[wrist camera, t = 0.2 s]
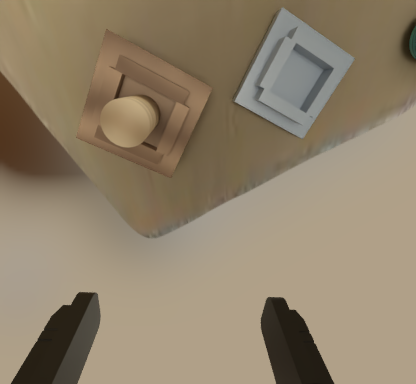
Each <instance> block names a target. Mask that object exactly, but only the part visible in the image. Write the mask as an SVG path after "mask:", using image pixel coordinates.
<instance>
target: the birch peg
mask: <svg viewBox="0 0 416 384" xmlns="http://www.w3.org/2000/svg"><path fill="white" fill-rule="evenodd" d="M160 115H161V114H160V109H159V106H158V104H157V103H156V102H155V101H154V100H153V99H152V98H151V97H149V96H147V95H134V96H129V97H123V98H118V99H114V100H112V101H110V102H108V103H107V104H106V105H105V106H104V108H103V110H102V112H101V116H100V123H101V128H102V130H103V132H104V134H105V135H106V137H107V138H108V139H109V140H110V141H111V142H113V143H114V144H116V145H118V146H121V147H127V148H129V147H135V146H137V145H139V144H141V143H142V142H143V141H144V140H145V139H146V138H147V137H148V135H149V134H150V133H151V132H152V131H153V129H154V128H155V127H156V126H157V125H158V123H159V121H160Z"/></svg>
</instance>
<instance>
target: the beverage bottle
mask: <svg viewBox="0 0 416 384" xmlns="http://www.w3.org/2000/svg"><path fill="white" fill-rule="evenodd" d="M409 47H410V52H411V54H412V56H413V57H414V58H415V59H416V26H415V27H414V29H413V31H412V34H411V37H410V42H409Z"/></svg>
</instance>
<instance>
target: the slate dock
mask: <svg viewBox="0 0 416 384" xmlns="http://www.w3.org/2000/svg"><path fill="white" fill-rule="evenodd" d="M354 59H355V58H354V57H352V56H351V55H349V54H348V53H347V52H345V51H344V50H342V49H341V48H339V47H338V46H337V45H335V44H334V43H332V42H331V41H330V40H328V39H327V38H325V37H324V36H323V35H321V34H320V33H318V32H317V31H315V30H314V29H313V28H311V27H310V26H308V25H307V24H306V23H304V22H303V21H301V20H300V19H298V18H297V17H296V16H294V15H293V14H291V13H290V12H289V11H287V10H286V9H284V8H283V7H282V8H281V9H280V10H279V11H277V13H276V15H275V17H274V19H273V21H272V23H271V25H270V27H269V29H268V31H267V33H266V35H265V37H264V39H263V41H262V43H261V45H260V46H259V48H258V50H257V52H256V54H255V56H254V58H253V60H252V62H251V64H250V66H249V68H248V70H247V72H246V74H245V76H244V78H243V80H242V82H241V84H240V86H239V88H238V90H237V92H236V94H235V96H234V98H233V100H232V101H234V102H236V103H237V104H239V105H241V106H243V107H245V108H246V109H248V110H250V111H252V112H254V113H256V114H257V115H259V116H261V117H263V118H265V119H266V120H268V121H270V122H272V123H274V124H275V125H277V126H279V127H281V128H283V129H285V130H286V131H288V132H290V133H292V134H294V135H295V136H297V137H299V138H301V139H303V138H304V136H305V135H306V133H307V131H308V130H309V128H310V127H311V125H312V124H313V122H314V121H315V119H316V118H317V116H318V115H319V113H320V112H321V110H322V108H323V107H324V105H325V104H326V102H327V101H328V99H329V98H330V96H331V95H332V93H333V92H334V90H335V89H336V87H337V85H338V84H339V82H340V81H341V79H342V78H343V76H344V75H345V73H346V72H347V70H348V69H349V67H350V65H351V64H352V62H353V61H354Z"/></svg>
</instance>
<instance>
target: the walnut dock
mask: <svg viewBox="0 0 416 384" xmlns="http://www.w3.org/2000/svg"><path fill="white" fill-rule="evenodd" d="M212 89H213V88H212V87H210V86H209V85H207V84H205V83H203V82H201V81H200V80H198V79H196V78H194V77H192V76H190V75H189V74H187V73H185V72H183V71H181V70H180V69H178V68H176V67H174V66H172V65H171V64H169V63H167V62H165V61H163V60H162V59H160V58H158V57H156V56H154V55H153V54H151V53H149V52H147V51H145V50H144V49H142V48H140V47H138V46H136V45H135V44H133V43H131V42H129V41H127V40H126V39H124V38H122V37H120V36H118V35H117V34H115V33H113V32H111V31H109V30H108V29H106V32H105V35H104V39H103V43H102V46H101V50H100V53H99V57H98V61H97V64H96V68H95V71H94V75H93V79H92V82H91V86H90V89H89V93H88V97H87V100H86V104H85V107H84V111H83V114H82V118H81V122H80V125H79V129H78V132H77V136H76V138H78V139H80V140H83V141H85V142H87V143H90V144H92V145H94V146H97V147H99V148H101V149H104V150H106V151H108V152H111V153H113V154H115V155H118V156H120V157H122V158H125V159H127V160H129V161H132V162H134V163H136V164H139V165H141V166H144V167H146V168H148V169H151V170H153V171H155V172H158V173H160V174H162V175H165V176H167V177H169V178H171V177H172V175H173V173H174V171H175V168H176V166H177V164H178V162H179V160H180V158H181V155H182V153H183V151H184V149H185V147H186V145H187V143H188V140H189V138H190V136H191V134H192V132H193V130H194V128H195V125H196V123H197V121H198V119H199V117H200V115H201V112H202V110H203V108H204V106H205V104H206V102H207V100H208V97H209V95H210V93H211V91H212ZM134 95H147V96H149V97H151V98H152V99H153V100H154V101H155V102H156V103H157V104H158V106H159V109H160V114H161V115H160V121H159V123H158V125H157V126H156V127H155V128H154V129H153V131H152V132H151V133H150V134H149V135H148V137H147V138H146V139H145V140H144V141H143V142H142V143H141V144H139V145H137V146H135V147H129V148H127V147H121V146H118V145H116V144H114V143H113V142H111V141H110V140H109V139H108V138H107V137H106V135H105V134H104V132H103V130H102V128H101V123H100V116H101V112H102V110H103V108H104V106H105V105H106V104H107V103H108V102H110V101H112V100H114V99H118V98H123V97H129V96H134Z"/></svg>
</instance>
